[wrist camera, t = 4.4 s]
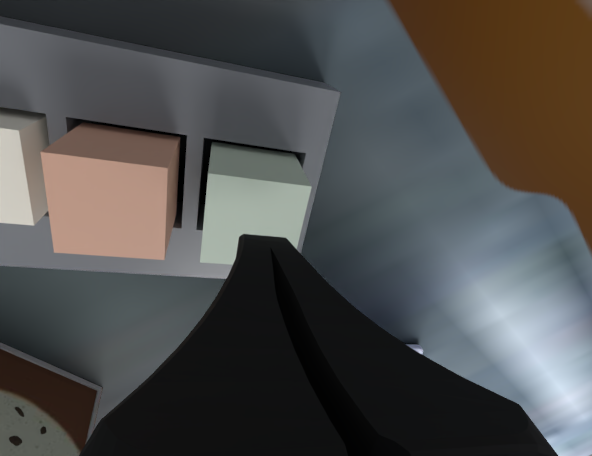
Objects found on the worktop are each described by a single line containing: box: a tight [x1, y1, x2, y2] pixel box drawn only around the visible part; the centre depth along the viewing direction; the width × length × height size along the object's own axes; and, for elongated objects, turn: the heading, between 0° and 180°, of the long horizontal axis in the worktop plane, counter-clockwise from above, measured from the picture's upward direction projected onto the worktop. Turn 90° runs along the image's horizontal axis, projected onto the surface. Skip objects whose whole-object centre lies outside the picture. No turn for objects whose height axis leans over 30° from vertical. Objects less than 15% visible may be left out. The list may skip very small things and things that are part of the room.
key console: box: [0, 16, 341, 279], centre depth 15 cm, size 15×9×2 cm, turn 78°
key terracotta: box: [40, 122, 180, 260], centre depth 13 cm, size 3×3×4 cm
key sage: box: [200, 142, 312, 265], centre depth 14 cm, size 3×3×4 cm
